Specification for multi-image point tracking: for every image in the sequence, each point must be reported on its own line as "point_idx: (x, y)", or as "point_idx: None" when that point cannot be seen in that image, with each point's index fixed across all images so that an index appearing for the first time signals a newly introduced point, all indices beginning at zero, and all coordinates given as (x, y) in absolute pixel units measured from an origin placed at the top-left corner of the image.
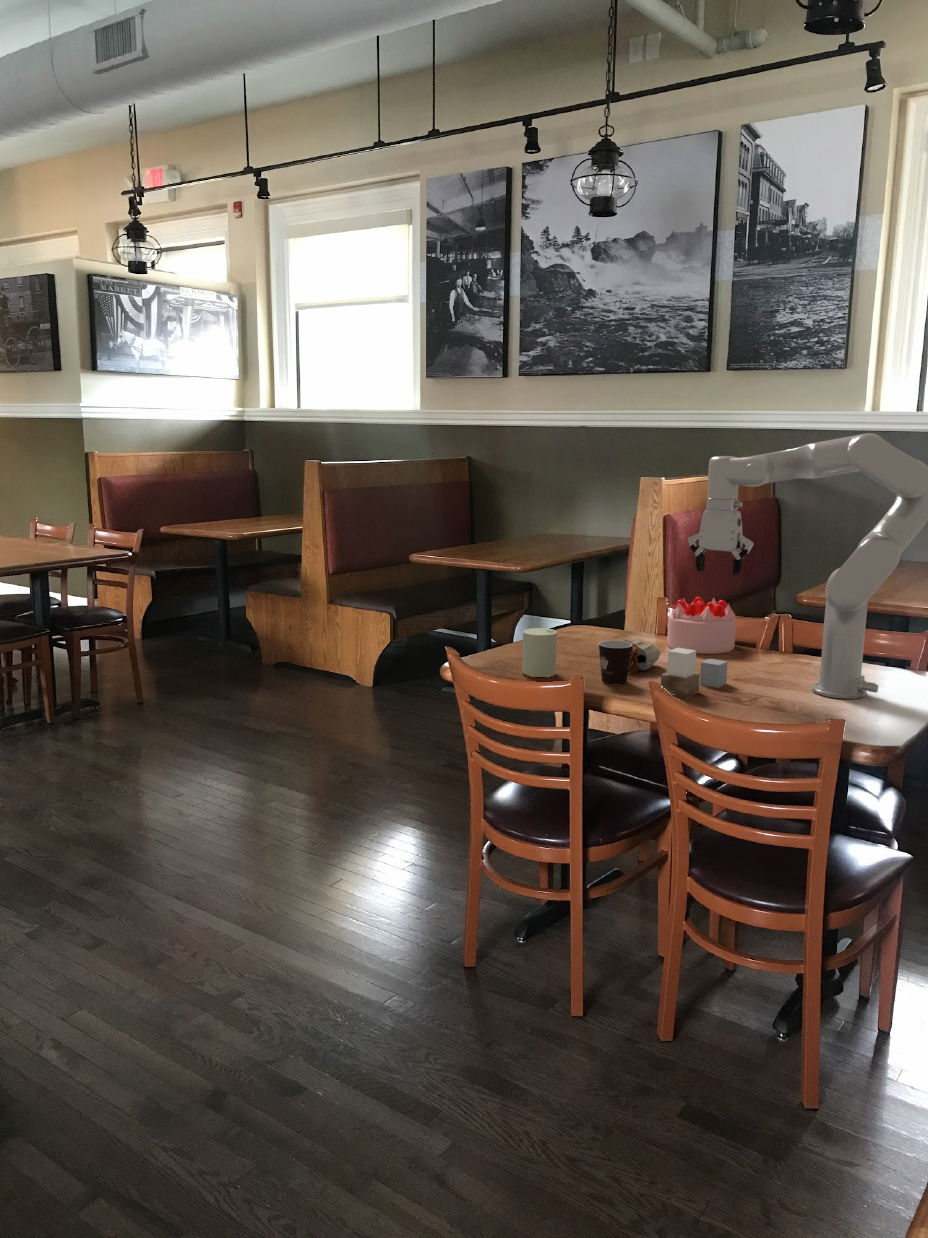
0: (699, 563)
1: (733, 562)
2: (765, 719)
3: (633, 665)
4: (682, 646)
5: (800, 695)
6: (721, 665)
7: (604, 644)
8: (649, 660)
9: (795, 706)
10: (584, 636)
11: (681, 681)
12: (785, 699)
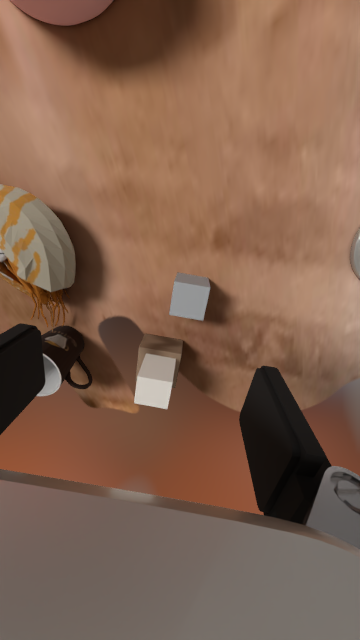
0: (9, 419)
1: (256, 491)
2: None
3: (90, 380)
4: (35, 12)
5: (326, 290)
6: (204, 311)
7: None
8: (72, 280)
9: (315, 348)
10: None
11: None
12: (302, 322)
